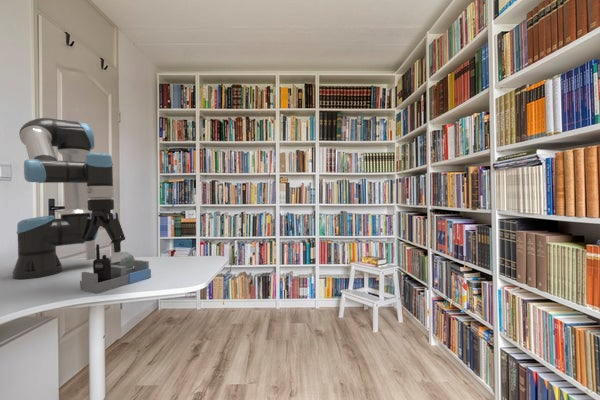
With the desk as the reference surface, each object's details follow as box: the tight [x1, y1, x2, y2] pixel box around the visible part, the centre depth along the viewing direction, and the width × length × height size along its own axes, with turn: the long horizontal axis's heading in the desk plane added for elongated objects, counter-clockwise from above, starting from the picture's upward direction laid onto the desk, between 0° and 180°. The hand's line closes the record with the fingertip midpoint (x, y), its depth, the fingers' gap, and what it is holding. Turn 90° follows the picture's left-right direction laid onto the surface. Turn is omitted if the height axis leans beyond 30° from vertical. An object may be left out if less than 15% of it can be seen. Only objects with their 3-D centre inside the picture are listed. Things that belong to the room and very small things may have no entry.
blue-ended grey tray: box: [79, 259, 152, 294], centre depth 107 cm, size 10×20×6 cm, turn 155°
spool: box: [106, 251, 136, 269], centre depth 122 cm, size 14×10×10 cm
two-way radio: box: [92, 243, 111, 283], centre depth 103 cm, size 6×4×15 cm
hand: (103, 260), depth 103 cm, fingers open, 13 cm apart
